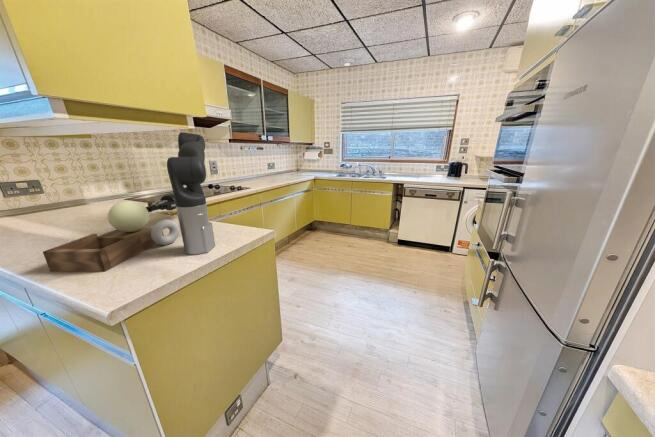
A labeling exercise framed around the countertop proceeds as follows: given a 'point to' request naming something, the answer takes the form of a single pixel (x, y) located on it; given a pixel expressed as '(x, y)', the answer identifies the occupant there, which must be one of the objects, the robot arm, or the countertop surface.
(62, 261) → the wooden serving tray
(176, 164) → the robot arm
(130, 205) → the melon
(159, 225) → the donut
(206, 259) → the countertop surface
